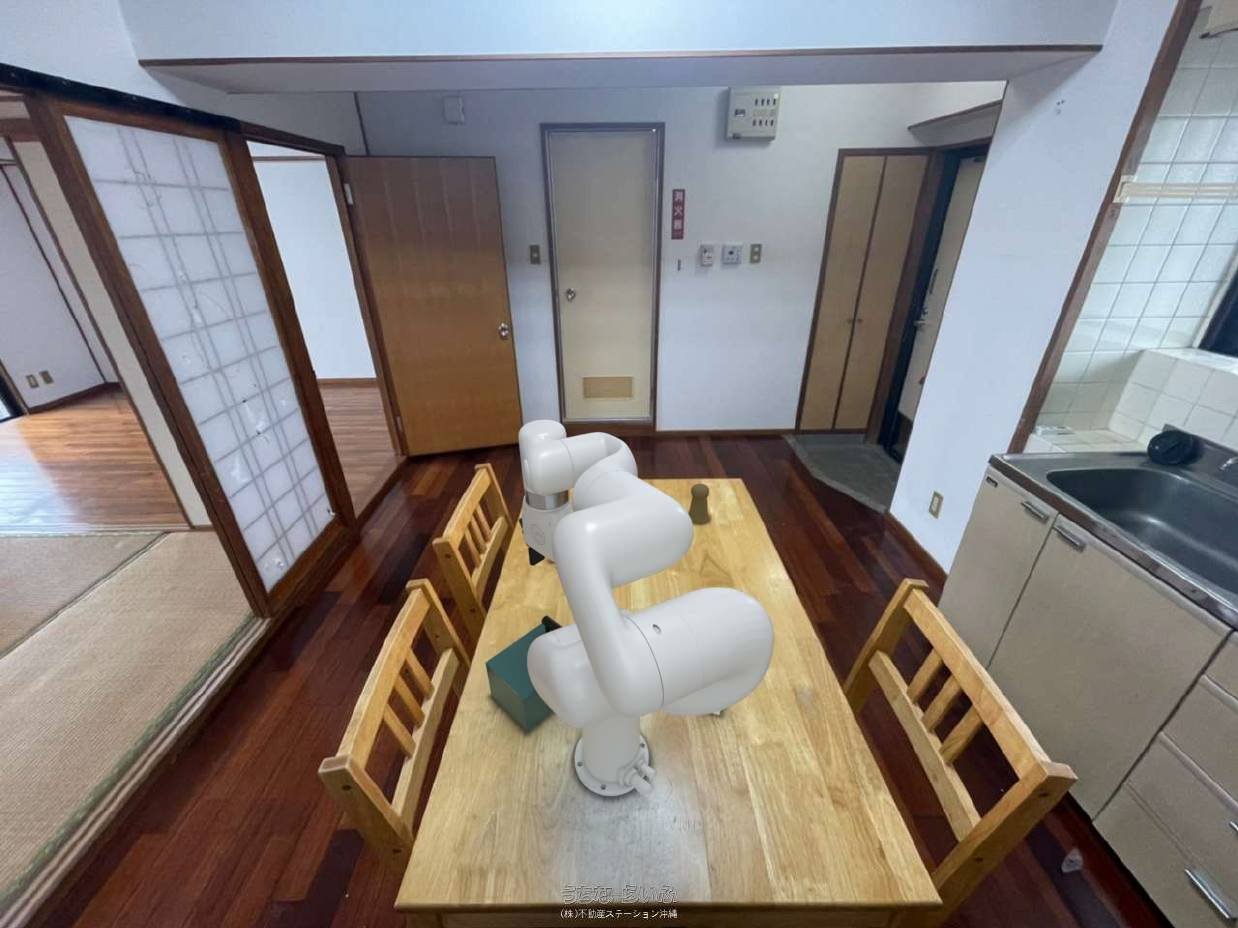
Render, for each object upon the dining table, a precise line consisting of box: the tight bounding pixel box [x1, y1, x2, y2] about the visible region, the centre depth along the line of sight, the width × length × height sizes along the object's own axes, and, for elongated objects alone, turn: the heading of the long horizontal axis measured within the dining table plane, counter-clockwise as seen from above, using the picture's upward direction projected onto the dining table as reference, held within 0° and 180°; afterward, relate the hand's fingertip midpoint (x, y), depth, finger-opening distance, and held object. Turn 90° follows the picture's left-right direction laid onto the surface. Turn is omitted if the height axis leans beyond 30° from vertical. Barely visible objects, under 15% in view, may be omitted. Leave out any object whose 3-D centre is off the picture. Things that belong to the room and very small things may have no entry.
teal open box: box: [485, 665, 554, 733], centre depth 98 cm, size 14×11×8 cm
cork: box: [688, 483, 710, 525], centre depth 150 cm, size 6×6×11 cm
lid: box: [484, 615, 563, 701], centre depth 95 cm, size 14×11×5 cm
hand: (554, 573), depth 94 cm, fingers open, 9 cm apart
